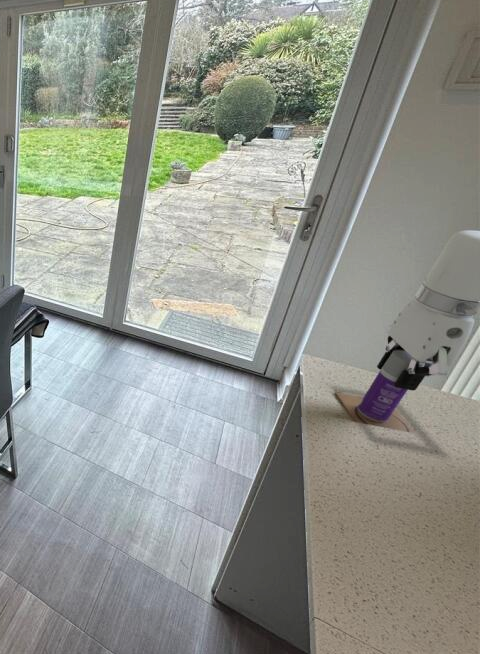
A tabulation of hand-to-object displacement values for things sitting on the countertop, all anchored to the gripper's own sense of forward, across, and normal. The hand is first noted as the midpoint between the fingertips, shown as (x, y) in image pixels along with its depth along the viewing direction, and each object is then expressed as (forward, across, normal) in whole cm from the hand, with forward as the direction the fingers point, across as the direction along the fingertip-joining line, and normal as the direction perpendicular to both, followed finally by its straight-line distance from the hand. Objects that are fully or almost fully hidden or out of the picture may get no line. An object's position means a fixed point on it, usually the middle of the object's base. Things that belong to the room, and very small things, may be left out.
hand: (395, 377), depth 80 cm
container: (+10, 0, 0) cm, 10 cm away
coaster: (+10, -2, -1) cm, 10 cm away
